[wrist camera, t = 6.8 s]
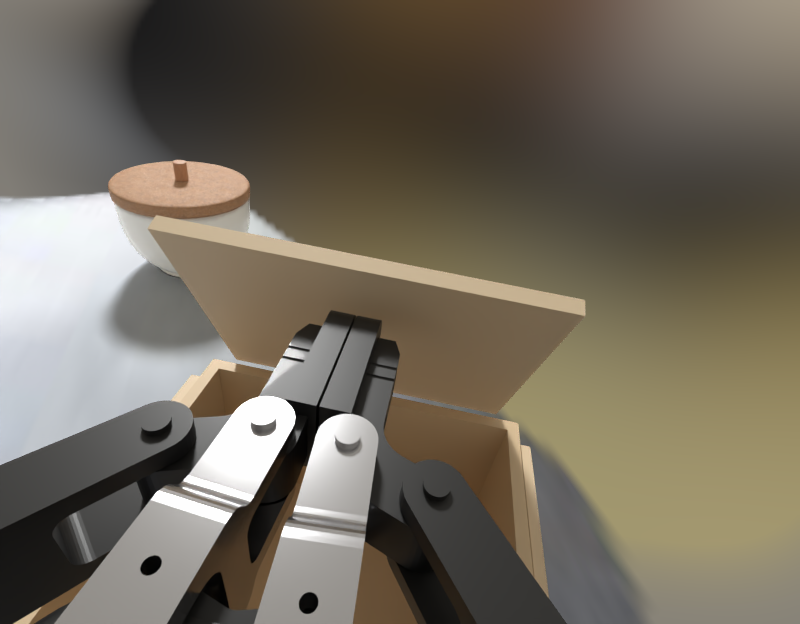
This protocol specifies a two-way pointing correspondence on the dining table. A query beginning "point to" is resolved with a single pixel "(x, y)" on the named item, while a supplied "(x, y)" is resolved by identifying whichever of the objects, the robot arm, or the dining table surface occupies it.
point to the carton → (414, 440)
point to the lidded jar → (177, 201)
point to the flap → (371, 310)
